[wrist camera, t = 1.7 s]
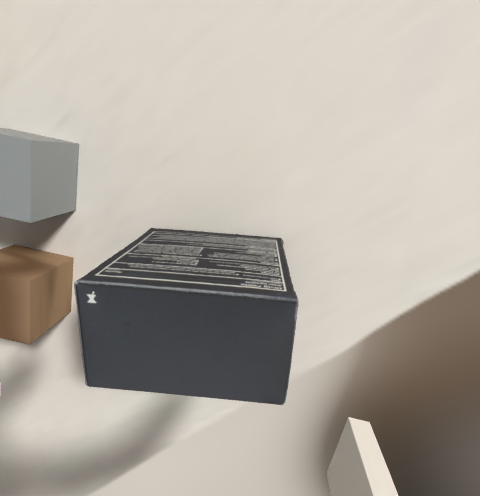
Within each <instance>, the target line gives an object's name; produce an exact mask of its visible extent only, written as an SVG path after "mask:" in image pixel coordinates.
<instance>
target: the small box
mask: <svg viewBox="0 0 480 496" xmlns="http://www.w3.org/2000/svg"><path fill="white" fill-rule="evenodd" d="M74 288H75V295H76V303H77V312H78V323H79V330H80V339H81V347H82V357H83V366H84V374H85V383H86V385H87V386H89V387H102V388H111V389H122V390H134V391H145V392H156V393H166V394H177V395H187V396H197V397H208V398H218V399H228V400H239V401H248V402H258V403H269V404H278V405H283V404H284V403H285V400H286V395H287V389H288V382H289V374H290V367H291V359H292V350H293V343H294V336H295V326H296V319H297V310H298V299H297V296H296V293H295V291H294V288H293V284H292V282H291V277H290V272H289V268H288V264H287V260H286V256H285V252H284V249H283V240H282V239H281V238H271V237H260V236H247V235H238V234H235V235H234V234H222V233H209V232H197V231H184V230H170V229H155V228H151V229H149V230H148V231H147V232H146V233H145V234H143V235H142V236H141V237H139V238H138V239H137V240H135V241H134V242H133V243H131V244H130V245H128V246H127V247H125V248H124V249H123V250H121V251H119V252H118V253H116V254H115V255H114V256H112V257H111V258H109V259H108V260H106V261H105V262H104V263H102V264H101V265H99V266H98V267H97V268H95V269H94V270H92V271H91V272H89V273H88V274H87V275H85V276H84V277H82V278H81V279H79V280H77V281H76V282H75V283H74Z"/></svg>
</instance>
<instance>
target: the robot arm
mask: <svg viewBox="0 0 480 496" xmlns="http://www.w3.org/2000/svg"><path fill="white" fill-rule="evenodd" d="M0 396H1V384H0ZM327 476H328V481H329V486H330V492H331V496H398V494H397V491H396V489H395V486H394V483H393V481H392V478H391V476H390V473H389V471H388V468H387V466H386V463H385V461H384V458H383V455H382V453H381V450H380V448H379V446H378V443H377V440H376V438H375V435H374V433H373V430H372V428H371V425H370V423H369V422H366V421H362V420H358V419H354V418H348V420H347V422H346V425H345V428H344V430H343V433H342V435H341V438H340V441H339V443H338V446H337V449H336V451H335V453H334V456H333V459H332V461H331V464H330V466H329V469H328V472H327Z"/></svg>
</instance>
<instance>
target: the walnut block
mask: <svg viewBox="0 0 480 496" xmlns="http://www.w3.org/2000/svg"><path fill="white" fill-rule="evenodd" d="M72 278H73V258H72V257H68V256H63V255H59V254H54V253H50V252H45V251H41V250H36V249H31V248H27V247H22V246H18V245H12V246H9V247H6V248H3V249H0V338H3V339H8V340H12V341H17V342H21V343H26V344H31V343H32V342H33V341H35V340H36V339H37V338H38V337H40V336H41V335H42V334H43V333H45V332H46V331H47V330H48V329H50V328H51V327H52V326H53V325H55V324H56V323H57V322H58V321H59V320H61V319H62V318H63V317H64V316H66V315H67V314H68V313H69V312H71V298H72Z"/></svg>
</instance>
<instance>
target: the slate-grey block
mask: <svg viewBox="0 0 480 496" xmlns="http://www.w3.org/2000/svg"><path fill="white" fill-rule="evenodd" d="M78 156H79V144H77V143H73V142H68V141H63V140H59V139H54V138H49V137H45V136H40V135H36V134H31V133H26V132H22V131H17V130H12V129H3V128H0V216H1V217H5V218H10V219H14V220H19V221H24V222H28V223H32V222H36V221H39V220H43V219H46V218H50V217H53V216H57V215H60V214H64V213H68V212H71V211H75V210H76V197H77V176H78Z"/></svg>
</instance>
